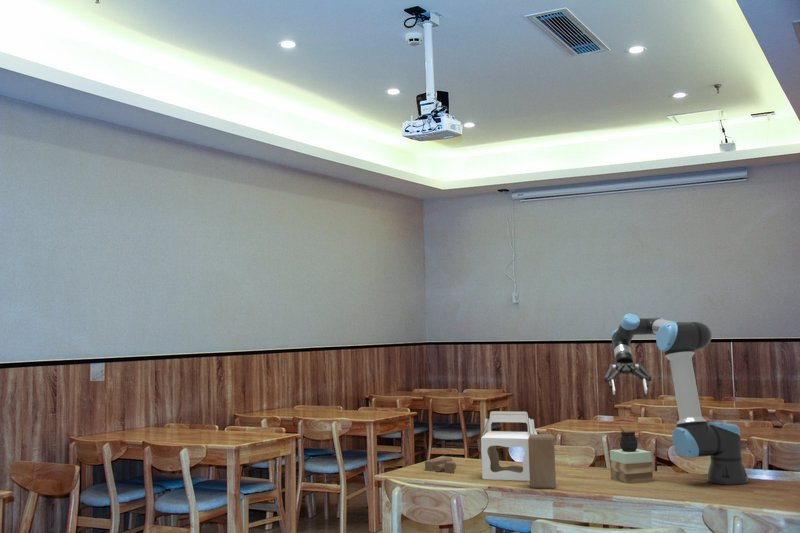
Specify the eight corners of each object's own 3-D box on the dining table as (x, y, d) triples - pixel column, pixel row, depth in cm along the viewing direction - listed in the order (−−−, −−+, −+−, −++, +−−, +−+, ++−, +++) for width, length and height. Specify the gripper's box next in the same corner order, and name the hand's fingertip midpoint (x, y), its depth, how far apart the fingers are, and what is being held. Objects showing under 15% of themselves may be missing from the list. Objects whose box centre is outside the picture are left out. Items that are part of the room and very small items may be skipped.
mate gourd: (635, 452, 333) (633, 427, 334) (617, 451, 337) (615, 427, 338) (640, 450, 339) (638, 425, 340) (622, 449, 343) (621, 425, 344)
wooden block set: (423, 459, 375) (447, 454, 389) (423, 471, 375) (447, 466, 388) (452, 461, 364) (476, 456, 377) (452, 474, 363) (476, 469, 377)
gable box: (481, 479, 348) (479, 412, 350) (490, 474, 360) (487, 409, 362) (533, 481, 339) (530, 413, 342) (540, 476, 352) (537, 410, 354)
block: (555, 488, 322) (553, 437, 323) (529, 488, 324) (527, 437, 325) (556, 484, 331) (553, 434, 333) (531, 483, 333) (529, 434, 335)
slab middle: (652, 471, 333) (652, 461, 333) (627, 474, 329) (626, 464, 330) (636, 467, 344) (635, 458, 345) (610, 469, 341) (610, 460, 341)
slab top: (651, 461, 333) (651, 451, 334) (625, 463, 330) (625, 453, 330) (635, 458, 345) (635, 448, 345) (610, 459, 341) (609, 450, 342)
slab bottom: (652, 482, 332) (652, 471, 333) (626, 484, 329) (626, 474, 329) (636, 477, 344) (635, 467, 344) (611, 479, 340) (610, 469, 341)
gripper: (651, 362, 374) (659, 397, 358) (595, 363, 378) (600, 398, 361) (652, 350, 370) (660, 385, 353) (596, 351, 373) (601, 387, 357)
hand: (630, 392), depth 357 cm, fingers open, 13 cm apart
